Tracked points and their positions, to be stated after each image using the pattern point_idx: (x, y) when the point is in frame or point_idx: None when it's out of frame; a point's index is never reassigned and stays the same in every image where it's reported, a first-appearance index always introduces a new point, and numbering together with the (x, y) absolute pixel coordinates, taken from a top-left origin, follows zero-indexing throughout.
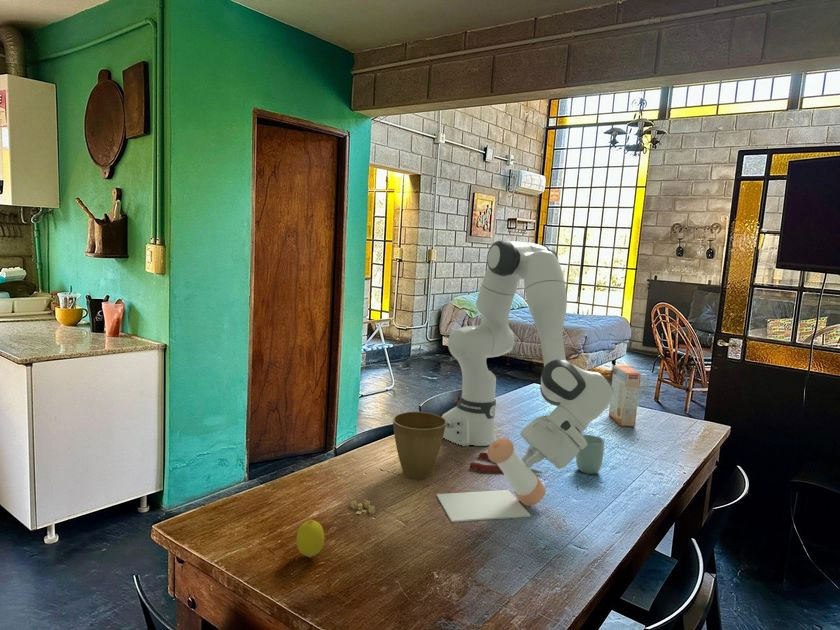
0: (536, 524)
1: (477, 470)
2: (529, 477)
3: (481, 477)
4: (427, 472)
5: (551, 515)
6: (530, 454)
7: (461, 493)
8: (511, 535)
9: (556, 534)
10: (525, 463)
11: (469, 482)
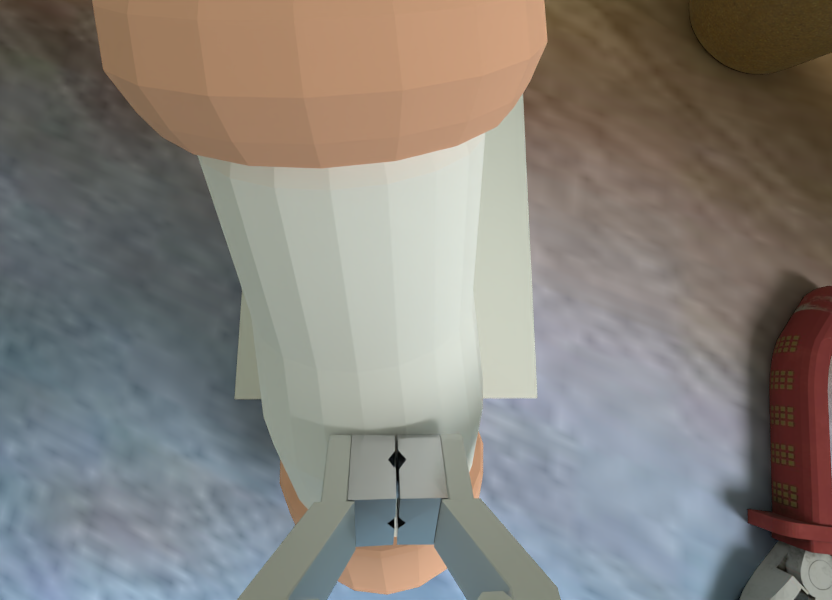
0: (152, 395)
1: (790, 320)
2: (270, 434)
3: (708, 314)
4: (714, 23)
5: (226, 529)
6: (466, 569)
7: (516, 139)
8: (84, 225)
9: (26, 458)
10: (347, 435)
11: (650, 230)
